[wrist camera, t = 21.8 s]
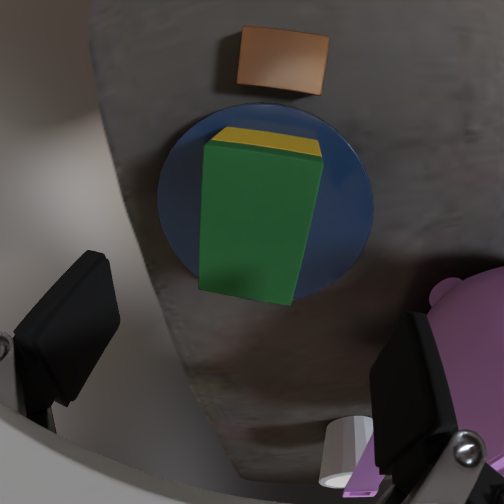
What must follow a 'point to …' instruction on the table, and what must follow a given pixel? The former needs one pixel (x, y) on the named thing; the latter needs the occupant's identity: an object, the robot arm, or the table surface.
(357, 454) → the shot glass
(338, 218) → the plate
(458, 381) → the teapot
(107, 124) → the table surface
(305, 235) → the sponge
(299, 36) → the brown block
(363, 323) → the table surface
